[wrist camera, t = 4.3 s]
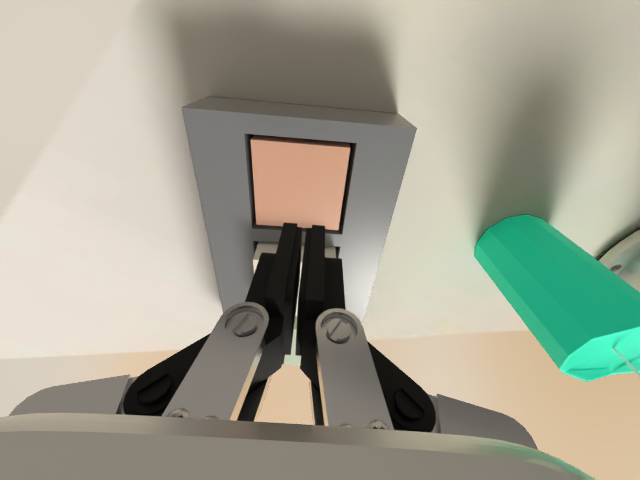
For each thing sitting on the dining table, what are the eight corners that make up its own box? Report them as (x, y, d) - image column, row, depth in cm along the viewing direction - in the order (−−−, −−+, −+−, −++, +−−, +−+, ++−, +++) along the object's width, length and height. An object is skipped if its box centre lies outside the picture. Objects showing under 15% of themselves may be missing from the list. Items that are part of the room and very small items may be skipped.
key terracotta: (345, 133, 17) (350, 147, 14) (335, 207, 20) (338, 230, 17) (261, 125, 17) (250, 139, 14) (264, 201, 20) (256, 224, 17)
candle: (468, 232, 22) (582, 371, 13) (547, 202, 21) (748, 336, 11) (479, 277, 25) (578, 417, 16) (549, 254, 24) (707, 395, 14)
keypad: (398, 113, 17) (416, 128, 14) (348, 325, 30) (352, 359, 26) (209, 96, 16) (181, 107, 13) (241, 320, 29) (231, 353, 26)
